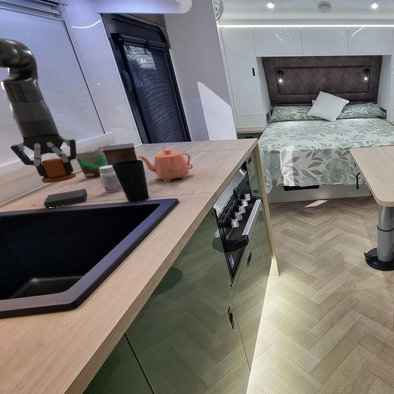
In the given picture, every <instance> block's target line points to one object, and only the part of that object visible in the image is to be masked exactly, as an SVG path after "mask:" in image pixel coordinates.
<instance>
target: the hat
mask: <svg viewBox="0 0 394 394" xmlns="http://www.w3.org/2000/svg"><path fill="white" fill-rule="evenodd" d="M41 163H42V165H43V167H44V169H45V172H46V174H47V178H44V177H42V178H41V182H42V183H44V184H52V183H59V182H65V181H69V180H72V179H74V178H76V177H77V175H76V173H75V172H72V174H68V173H67V171H66V168H65V166H64V161H63V160H62V159H61V158H50V159H45V160H41Z"/></svg>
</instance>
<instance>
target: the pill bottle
mask: <svg viewBox="0 0 394 394" xmlns="http://www.w3.org/2000/svg"><path fill="white" fill-rule="evenodd" d="M99 170H100V172H101V174H100V179H101V182H102V185H103V189H104V191H105V192H106V193H116V192H120V191H123V189H122V186H121V184H120V182H119V180H118V178H117V176H116V173H115V171H114V169H113V167H112V165H108V166H102V167H100V168H99Z"/></svg>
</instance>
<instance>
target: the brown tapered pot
mask: <svg viewBox="0 0 394 394" xmlns="http://www.w3.org/2000/svg"><path fill="white" fill-rule="evenodd" d="M102 147H103V153H104V154H105V157H106V160H107V163H108V165H113V164H114V163H117V162H121V161H126V160H138V157H137V154H136V149H135V148H136V147H135V145H134V143H133V142H130V143H122V144H121V143H120V144H111V145H103V146H102Z"/></svg>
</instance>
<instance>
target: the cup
mask: <svg viewBox="0 0 394 394" xmlns="http://www.w3.org/2000/svg"><path fill="white" fill-rule="evenodd" d="M144 165H145V164H144V161H143V160H142V159H137V160H126V161H121V162H117V163H114V164H113V165H112V167H113V169H114V171H115V173H116V176H117V178H118V180H119V182H120V184H121V186H122V191H123V193H124V196H125V198H126V200H127V202H128V203H130V202H136V203H139V202H138V201H141V202H145V201H147V200H148V199H150V195H149V188H148V184H147V177H146V171H145V166H144Z"/></svg>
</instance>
